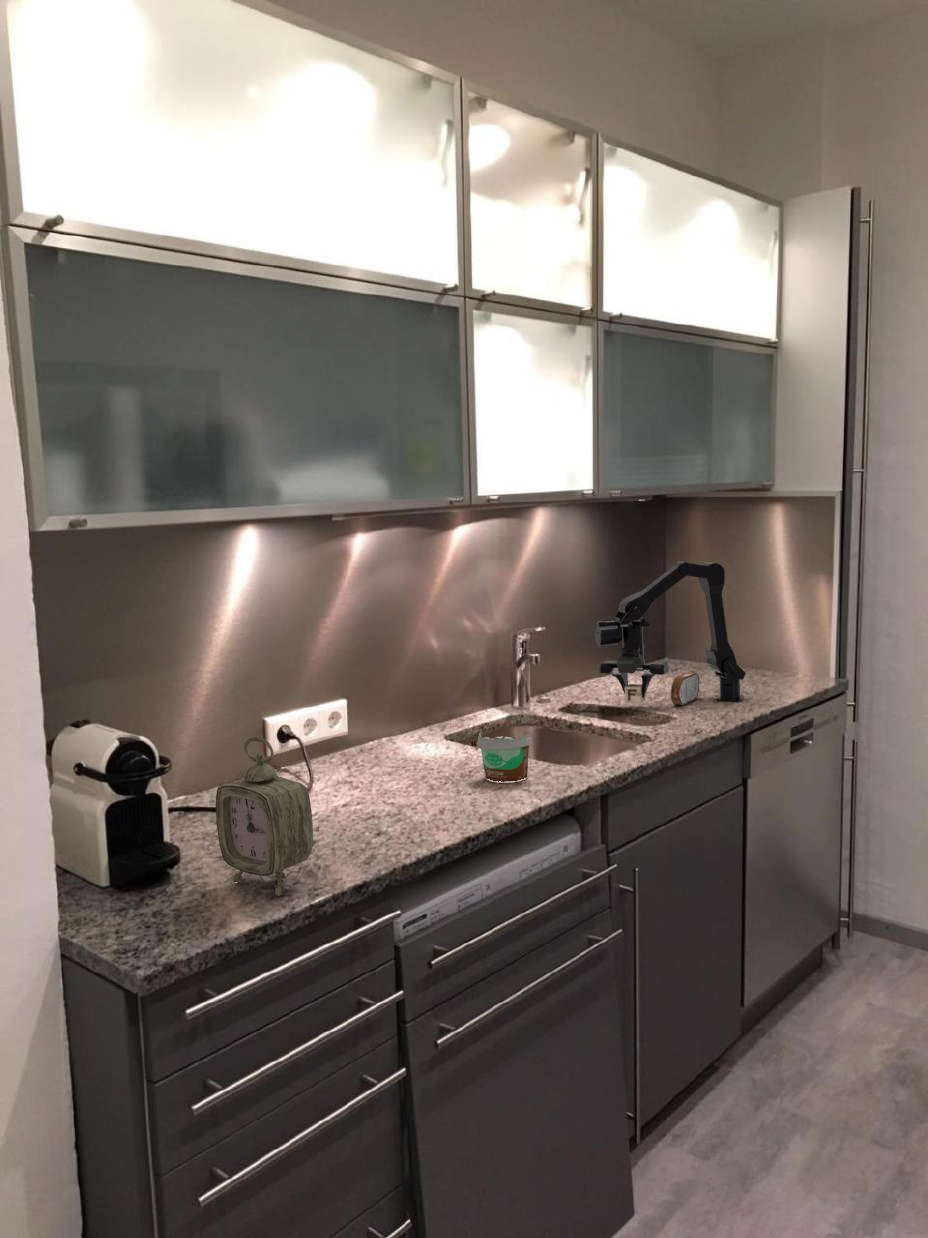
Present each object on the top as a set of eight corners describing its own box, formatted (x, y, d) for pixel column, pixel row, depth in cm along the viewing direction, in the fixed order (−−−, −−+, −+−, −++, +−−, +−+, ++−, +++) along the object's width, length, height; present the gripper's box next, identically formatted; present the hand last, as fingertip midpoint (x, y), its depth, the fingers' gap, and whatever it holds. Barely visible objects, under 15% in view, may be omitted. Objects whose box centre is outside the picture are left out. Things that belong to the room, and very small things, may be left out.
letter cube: (629, 699, 290) (629, 683, 289) (645, 699, 288) (644, 683, 287) (625, 702, 286) (624, 686, 285) (640, 703, 284) (640, 687, 283)
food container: (470, 784, 220) (468, 739, 219) (480, 776, 226) (478, 732, 224) (524, 787, 215) (522, 741, 214) (533, 779, 221) (531, 734, 220)
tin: (691, 697, 297) (690, 669, 296) (701, 698, 295) (701, 669, 294) (670, 707, 285) (669, 678, 284) (680, 708, 283) (679, 678, 282)
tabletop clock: (221, 885, 168) (208, 738, 166) (264, 868, 175) (252, 726, 173) (279, 903, 159) (267, 747, 156) (321, 884, 166) (310, 735, 163)
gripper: (591, 647, 282) (594, 702, 284) (657, 647, 273) (659, 704, 275) (604, 641, 292) (607, 694, 293) (668, 641, 283) (670, 696, 285)
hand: (635, 697), depth 286 cm, fingers closed on letter cube, 4 cm apart
